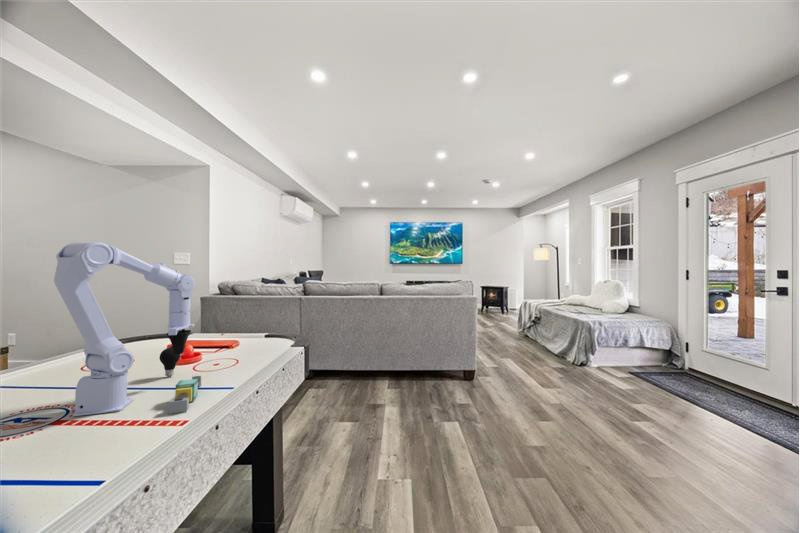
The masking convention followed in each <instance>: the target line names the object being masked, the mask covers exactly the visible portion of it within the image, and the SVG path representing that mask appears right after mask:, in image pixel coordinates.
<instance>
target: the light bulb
mask: <svg viewBox="0 0 800 533" xmlns="http://www.w3.org/2000/svg"><path fill="white" fill-rule="evenodd" d="M180 358H181V354H174V351H173V347H167V348H165V349H163V350H162V351H161V353H160V354H159V361H160V363H161V364H162V365H163V369H164V371H165V372H164V373H165V376H166V377H168V378H171V377H172V376H173V375H174V374H175V368H176V365H177V364H178V361H179V360H180Z"/></svg>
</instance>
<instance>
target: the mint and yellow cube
mask: <svg viewBox="0 0 800 533" xmlns="http://www.w3.org/2000/svg"><path fill="white" fill-rule="evenodd" d="M189 387H192V401H191V402H194V401H195V399H197V397H198V392H199V389H198V388H199V387H198V379H192V378H191V379H182V380H181V379H180V380H179V381H178V382H177V383H176V384H175V390H176V389H182V388H189ZM174 393H175V394H174V395H176V391H175V392H174Z"/></svg>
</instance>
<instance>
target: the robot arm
mask: <svg viewBox="0 0 800 533" xmlns="http://www.w3.org/2000/svg"><path fill="white" fill-rule="evenodd" d="M55 257H56V260H57V265H56V268H55V272H54V277H53V280H54V285H55V287H56V289H57V291H58V293H59V295H60V297H61V299H62V300H63V302H64V304H65V305H66V308H67V309H68V312H69V313H70V316H71V318H72V320H73V321H74V323H75V325H76V327H77V329H78V331H79V333H80V336H82V338H83V340H84V342H85V345H86V346H85V347H84V349H83V352H84V355H85V360H84V364H85V367H86V368H87V369H88V370H90V375H85V376H82V377H80V379H79V380H78V381H77V384H76V387H75V394H74V396H75V398H74V399H75V400H74V401H75V402H74V413H73V414H72V417H80V416H88V415H89V416H90V415H96V414H104V413H105V414H106V413H114V412H120V411H122V410H123V409H125V407H126V406H127V405H129V404H130V403H131V402H132V401H133V400H134V398H133V397H129V398H128V396H127V393H128V373H129V369H131V368H132V366H133V365H134V362H135V357H134V356H135V355H134V354H133V352H131V351H130V350H129V349H127V348H126V347H125V345H124V344H123V342H121V341H120V340H119V339H117V337H115V335H114V334H113V331H112V329H111V328H110V325H109V324H108V321H107V319H106V317H105V314H104V313H103V311H102V308H101V307H100V304H99V303H98V300H97V298H96V297H95V294H94V292H93V290H92V287H91V286H90V284H89V282H90V280H91V279H92V278H93V276H94V275H95V274H96V273H98V272H100V270H102V269H104V268H105V267H106V266H108V265H116V266H119V267H120V268H124V269H126V270H129V271H133V272H135V273H138V274H141V275H143V276H144V280H146V281H148V282H150V283H153V284H156V285H158V286H160V287H163V288H165V289H166V290H167V291H168V294H169V296H168V298H169V300H168V301H169V302H168V326H167V329H168V330H167V331H168V332H167V333H166V336H167V338H168V339H169V341H170V343H171V348H173V351H174V354H180V355H183V354H184V351H185V349H186V343H187V341H188V337H190V336H189V335H190V334H191V332H192V330H191V329H189V328H195V324H194V323H191V311H192V310H191V308H192V307H191V304H192V303H191V301H192V300H191V299H192V296H193V291H194V290H195V288H196V285H197V283H196V282H195V280H194V278H193V276H191V275H189V274H181V273H180V272H181V271H180V270H176V269H171V268H169V267H167V264H165V263H164V262H163V263H152V264H150V263H148V262H146V261H144V260H142V259H140V258H137V257H135V256H133V255H132V254H129V253H127V252H125V251H123V250H121V249H119V248H118V247H116V246H113V245H109V244H107V243H104V242H102V241H91V242H70V243H68V244H66V245H65V246H63V247H62V248H61V249H60V250H59V251H58V252H57V254H56V255H55Z"/></svg>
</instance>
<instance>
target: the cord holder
mask: <svg viewBox="0 0 800 533" xmlns="http://www.w3.org/2000/svg"><path fill="white" fill-rule="evenodd" d="M202 378H203V374H195V375H192V377H191V379H198V386H201V385H203V383H202V382H203V379H202ZM201 387H202V386H201ZM175 392H176V395H175V394H174V395H175V397H174V398H173V399H170V400H169V401H168V407H167V409H168V411H167V415H173V413H174V414H180V413H179V412H182V413H185V412H184V411H187V410H188V411H189V408H190V403H191V402H193V401H192V387H189V388H182V389H176V388H175ZM188 411H187V412H188Z"/></svg>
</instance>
